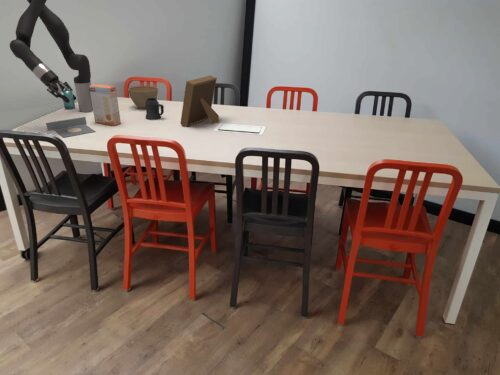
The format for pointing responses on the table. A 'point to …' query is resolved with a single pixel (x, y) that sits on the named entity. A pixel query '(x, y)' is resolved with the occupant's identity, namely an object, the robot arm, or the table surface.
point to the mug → (153, 109)
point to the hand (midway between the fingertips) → (71, 100)
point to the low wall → (66, 123)
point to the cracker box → (105, 104)
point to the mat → (74, 130)
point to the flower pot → (142, 95)
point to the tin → (70, 96)
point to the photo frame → (199, 101)
